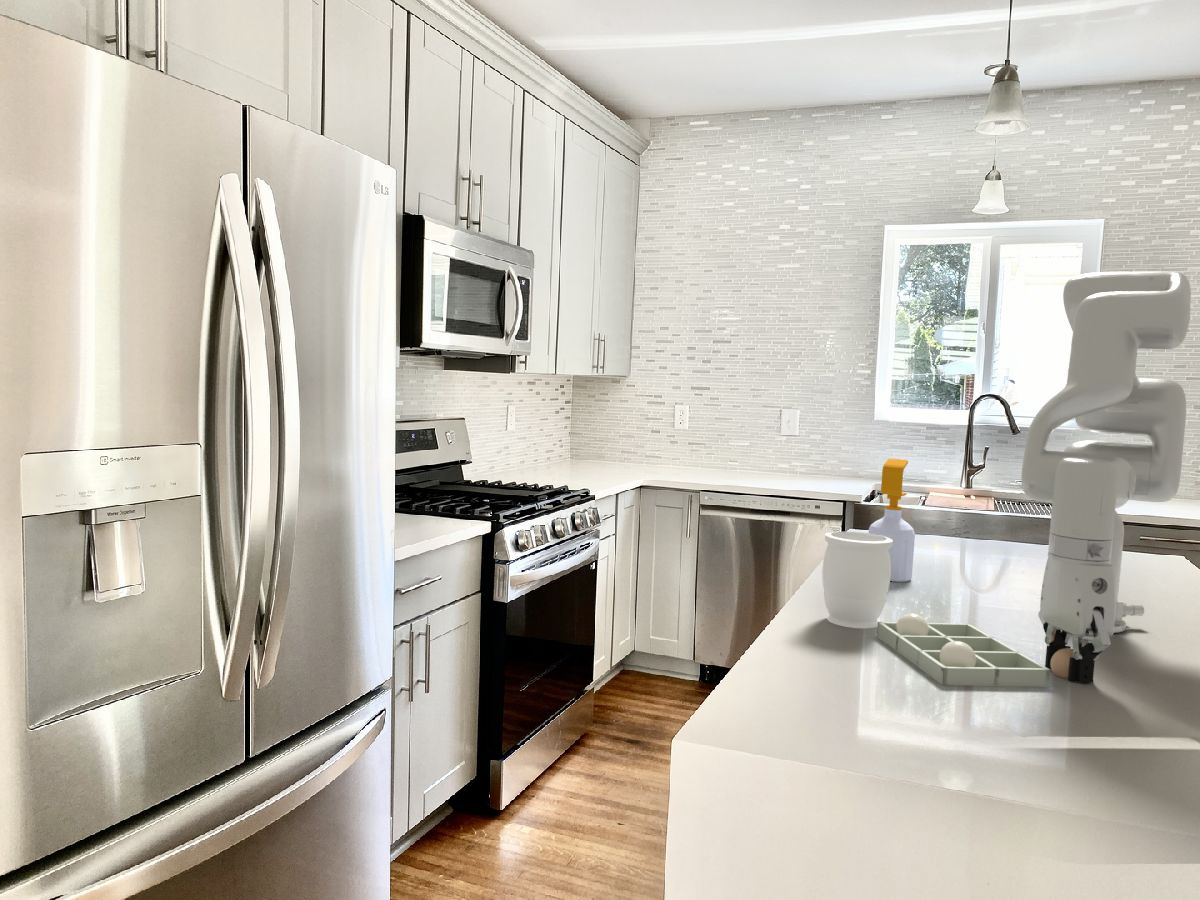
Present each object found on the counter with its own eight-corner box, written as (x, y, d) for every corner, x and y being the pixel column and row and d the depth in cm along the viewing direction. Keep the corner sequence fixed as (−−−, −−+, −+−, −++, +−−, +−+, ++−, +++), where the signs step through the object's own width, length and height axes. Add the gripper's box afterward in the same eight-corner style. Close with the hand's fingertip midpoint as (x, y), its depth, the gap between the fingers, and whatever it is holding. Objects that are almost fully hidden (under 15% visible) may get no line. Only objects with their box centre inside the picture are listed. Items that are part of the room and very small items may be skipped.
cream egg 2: (964, 669, 122) (966, 636, 122) (981, 681, 117) (984, 647, 117) (931, 669, 122) (934, 636, 121) (947, 680, 117) (950, 646, 117)
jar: (887, 623, 148) (893, 534, 147) (885, 640, 138) (892, 544, 137) (821, 615, 152) (827, 528, 150) (815, 631, 142) (822, 538, 141)
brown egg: (1073, 676, 125) (1076, 644, 124) (1094, 687, 120) (1097, 654, 120) (1042, 675, 124) (1044, 643, 124) (1061, 687, 120) (1064, 653, 119)
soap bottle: (915, 577, 186) (924, 460, 184) (905, 584, 178) (914, 462, 176) (872, 570, 191) (880, 456, 189) (860, 577, 183) (868, 459, 181)
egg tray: (967, 643, 138) (968, 623, 138) (1048, 693, 117) (1050, 669, 117) (876, 642, 137) (877, 621, 137) (941, 692, 116) (943, 668, 115)
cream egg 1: (919, 639, 136) (921, 609, 136) (933, 648, 131) (935, 618, 131) (890, 639, 136) (892, 609, 135) (902, 648, 131) (905, 617, 131)
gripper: (1149, 563, 112) (1135, 703, 114) (1068, 538, 129) (1057, 661, 131) (1092, 561, 112) (1080, 702, 113) (1018, 537, 129) (1008, 660, 130)
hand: (1067, 679), depth 122 cm, fingers closed on brown egg, 4 cm apart
